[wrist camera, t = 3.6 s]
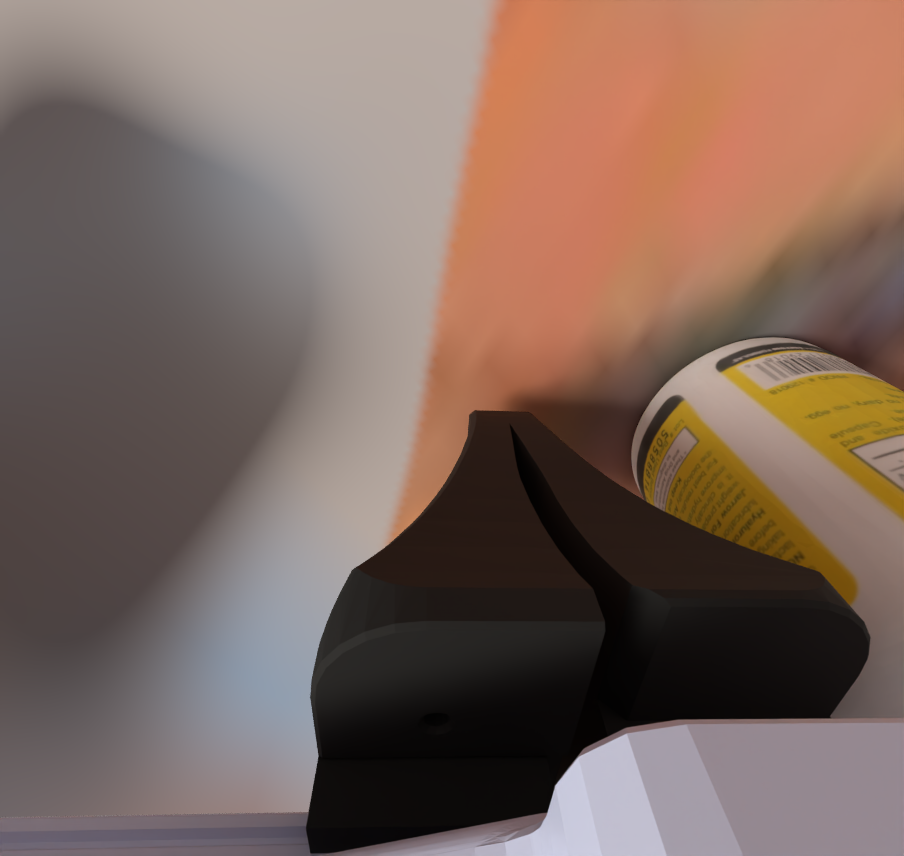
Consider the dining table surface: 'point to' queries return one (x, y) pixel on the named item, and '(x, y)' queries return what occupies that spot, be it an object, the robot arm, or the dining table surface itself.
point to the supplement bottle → (793, 479)
